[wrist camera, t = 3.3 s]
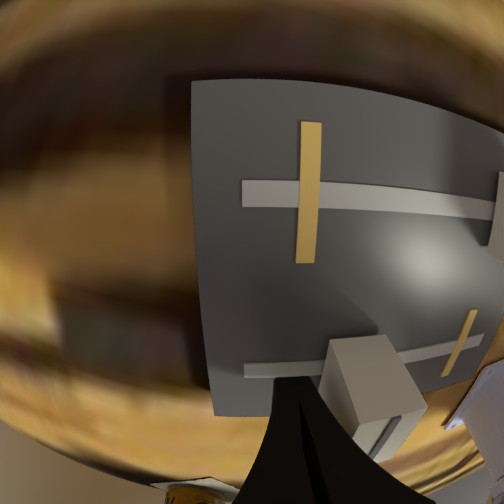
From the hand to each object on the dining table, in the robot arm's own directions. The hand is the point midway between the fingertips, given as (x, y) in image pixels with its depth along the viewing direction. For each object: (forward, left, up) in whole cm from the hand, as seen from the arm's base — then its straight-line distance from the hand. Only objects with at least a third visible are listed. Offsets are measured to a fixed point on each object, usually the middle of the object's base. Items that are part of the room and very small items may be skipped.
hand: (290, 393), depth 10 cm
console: (-5, -4, -3) cm, 7 cm away
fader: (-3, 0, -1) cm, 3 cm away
